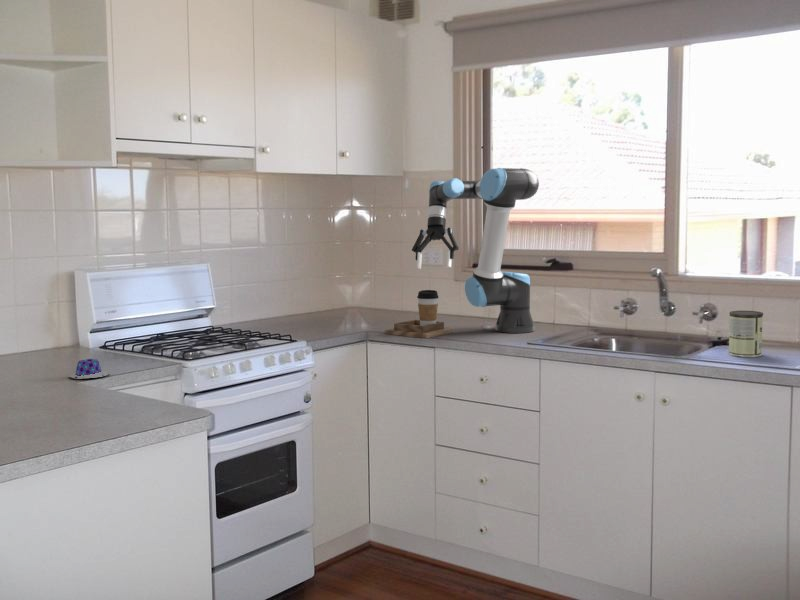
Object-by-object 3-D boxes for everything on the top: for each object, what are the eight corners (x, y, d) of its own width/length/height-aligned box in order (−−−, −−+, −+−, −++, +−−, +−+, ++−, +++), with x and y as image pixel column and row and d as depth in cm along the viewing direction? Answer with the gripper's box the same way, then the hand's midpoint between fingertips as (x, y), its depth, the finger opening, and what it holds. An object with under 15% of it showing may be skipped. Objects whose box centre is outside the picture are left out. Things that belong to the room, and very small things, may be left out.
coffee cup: (439, 327, 349) (439, 290, 348) (438, 330, 341) (437, 292, 339) (418, 327, 350) (418, 289, 349) (416, 330, 342) (416, 292, 340)
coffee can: (726, 351, 297) (727, 310, 296) (758, 352, 295) (760, 310, 293) (730, 357, 287) (731, 314, 286) (764, 357, 285) (765, 314, 283)
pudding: (115, 378, 265) (114, 360, 265) (74, 383, 258) (73, 365, 258) (102, 372, 275) (102, 355, 274) (63, 376, 268) (62, 359, 267)
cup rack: (453, 332, 347) (453, 322, 347) (426, 338, 333) (426, 327, 332) (412, 328, 359) (412, 318, 359) (385, 333, 345) (384, 323, 344)
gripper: (468, 218, 366) (465, 268, 362) (413, 222, 377) (410, 270, 373) (461, 213, 360) (458, 263, 356) (406, 217, 371) (402, 266, 367)
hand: (433, 267), depth 364 cm, fingers open, 13 cm apart
